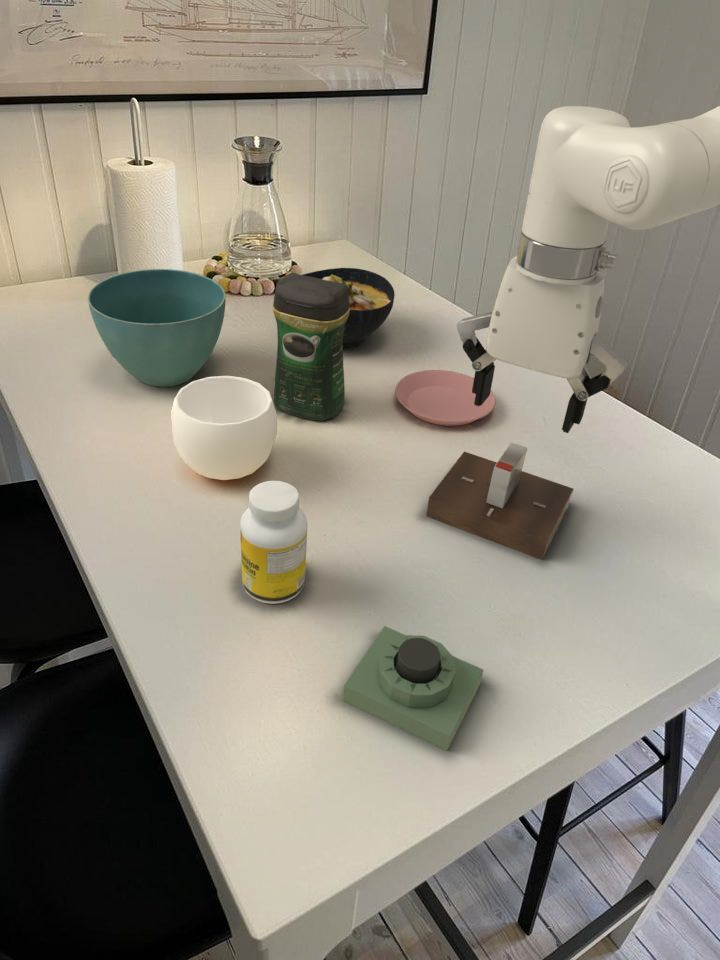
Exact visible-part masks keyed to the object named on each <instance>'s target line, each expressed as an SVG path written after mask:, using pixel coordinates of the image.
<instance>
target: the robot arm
mask: <svg viewBox="0 0 720 960" xmlns="http://www.w3.org/2000/svg"><path fill="white" fill-rule="evenodd" d="M537 138H538V139H537V144H536V150H535V154H534V160H533V165H532V171H531V176H530V182H529V188H528V192H527V193H528V194H527V198H526V204H525V210H524V215H523V221H522V226H521V230H520V231H521V232H520V235H519V236H520V237H519V242H518V247H517V253H516V255H515V256H514V257H512V258H511V259H510V261H509V262H508V264H507V267H506V269H505V272H504V274H503V278H502V280H501V283H500V286H499V289H498V292H497V296H496V299H495V302H494V306H493V309H492V311H489V312H486V313H481V314H476V315H473V316H468V317H465V318H462V319H461V320H460V321H459V322H458V323H457V324H456V329H457V332H458V335H459V338H460V341H461V342H462V349H463V351H464V353H465V354H466V355H467V357H468V358H469V360H470V362H471V367H472V369H473V370H474V377H473V378H474V382H473V388H472V393H474V394H476V396H475V401H474V405H476V406H480V405H482V404H483V403H484V402H485V400H486V399H487V398H488V397H489V395H490V392H491V391H492V386H493V381H494V380H493V379H494V374H495V369H496V365H495V361H496V360H497V361H500V362H502V363H506V364H510V365H513V366H516V367H519V368H523V369H527V370H530V371H534V372H538V373H542V374H545V375H549V376H552V377H556V378H561V379H566V380H567V383H568V384H569V386H570V388H571V389H572V391H573V393H572V394H571V396H570V398H569V400H568V403H567V408H566V411H565V415H564V419H563V422H562V427H561V431H562V432H563V433H566V434H569V433H570V431H571V429H572V428H573V426H574V424H576V425H580V424H581V422H582V421H583V417H584V413H585V410H586V406H587V402H588V399H589V398H590V397H592V396H594V395H596V394H599V393H600V392H602V391H604V390H606V389H607V388H608V387H609V386H610V385H611V384H613V383H614V382H615V381H616V380H617V379H618V378H619V377H620V376H621V375H622V374H623V373H624V372H625V370H626V368H627V367H628V361H626V359H624V358H623V357H622V356H621V355H620V354H619V353H617V352H616V351H615V350H614V349H612V348H611V347H610V346H609V345H608V344H607V343H605V342H604V341H603V340H602V339H601V338H600V337H598V332H599V327H600V322H601V316H602V310H603V303H604V297H605V296H604V295H605V278H606V277H605V274H604V273H603V272H602V271H601V270H605V269H609V270H612V271H613V270H614V269H615V266H616V264H617V261H618V254H616V253H612V252H610V251H609V250H607V247H606V243H607V241H606V238H607V233H608V229H609V225H610V223H611V224H613V225H615V226H617V227H620V228H623V229H627V230H634V231H643V230H650V229H654V228H657V227H660V226H664V225H666V224H669V223H672V222H674V221H677V220H679V219H682V218H685V217H688V216H691V215H695V214H698V213H700V212H704V211H706V210H707V211H708V210H709V209H712V208H715V207H717V206H720V105H718V106H717V107H715V108H713V109H711V110H709V111H706V112H705V113H702V114H699V115H698V116H695V117H692V118H687V119H686V118H685V119H681V120H674V121H669V122H663V123H659V124H654V125H645V126H638V127H637V126H635V127H631V125H630V121H629V120H628V119H627V118H626V116H625V115H622V114H621V113H619V112H617V111H614V110H611V109H605V108H600V107H595V106H584V105H565V106H560V107H557V108H556V107H555V108H553V109H552V110H550V111H549V112H548V113H547V114H546V115H545V116H544V118H543V120H542V122H541V125H540V129H539V133H538V137H537ZM483 329H484V330H485V329H487V330H488V331H487V335H486V341H485V347H484V345H483V344H482V343H481V342H480V340H479V338H478V337H477V336H476V331H480V330H483ZM592 357H594V358H595V359H596V360H597V361H599V363H601V364H602V365H603V366H604V367H605V370H604V371H603V372H601V373H599V374H597V375H595V376H592V375H591V373H590V371H589V369H588V367H587V366H586V365H588V364H590V362H591V360H592Z"/></svg>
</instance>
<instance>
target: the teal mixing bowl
mask: <svg viewBox="0 0 720 960" xmlns="http://www.w3.org/2000/svg"><path fill="white" fill-rule="evenodd" d="M226 295H227V294H226V291H225V288H224V287H223V286H222V285H221V284H219V282H217V281H216V280H214V279H212V278H209V277H208V276H205V275H203V274H200V273H196V272H194V271H193V272H192V271H187V270H181V269H172V268H150V269H149V268H148V269H137V270H131V271H126V272H123V273H118V274H115V275H112V276H110V277H107V278H105V279H103V280H101V281H99V282H98V283H96V284H95V285H94V286H93V287H92V288H91V289H90V291H89V292H88V295H87V302H88V308H89V312H90V315H91V318H92V320H93V323H94V326H95V329H96V330H97V333H98V335H99V337H100V339H101V341H102V342H103V344H104V345H105V347H106V349H107V350H108V351H109V353H110V354H111V356H112V357H113V359H115V361H116V362H117V364H119V365H120V366H121V367H122V368H123V369H124V370H126V371H127V372H128V373H129V374H130V375H131V376H133V377H134V378H135V379H136V380H137V381H138V382H141V383H143V384H144V385H147V386H152V387H159V388H167V387H175V386H178V385H182V384H184V383H186V382H188V381H190V380H191V379H192V378H193V377H194V376H196V374H197V373H198V372H199V371H200V370H201V369H202V368H203V366H204V365H205V363H207V361H208V359H209V358H210V356H211V355H212V353H213V351H214V349H215V347H216V345H217V343H218V340H219V337H220V334H221V331H222V328H223V324H224V318H225V312H226V302H227V301H226V299H227V297H226Z"/></svg>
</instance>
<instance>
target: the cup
mask: <svg viewBox="0 0 720 960" xmlns="http://www.w3.org/2000/svg"><path fill="white" fill-rule="evenodd" d="M170 420H171V421H170V422H171V431H172V438H173V439H172V440H173V444H174V446H175V448H176V450H177V452H178V454H179V458H180V459H181V460H182V461H183V462H184V463H185V465H187V466H188V467H189V468H190V469H191V470H192V471H194V472H195V473H196V474H198V475H200V476H202V477H205V478H207V479H212V480H213V479H214V480H220V481H230V480H236V479H242V478H244V477H247V476H249V475H252V474H254V473H255V472H256V471H257V470H259V468H261V467H262V466H263V465H264V464H265V463H266V462H267V461H268V459H269V457H270V454H271V453H272V449H273V446H274V443H275V441H276V438H277V435H278V413H277V411H276V406H275V405H274V402H273V398H272V395H271V392H270V390H268V389H267V388H265V387H264V386H263V385H262V384H261V383H259V382H257V381H254V380H251V379H249V378H246V377H241V376H232V375H219V376H216V375H214V376H207V377H204V378H200V379H197V380H193V381H191V382H189V383H188V384H186V385H184V386H183V387H181V388H180V389H179V390H178V392H177V394H176V395H175V397H174V398H173V402H172V406H171V411H170Z"/></svg>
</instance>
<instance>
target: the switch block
mask: <svg viewBox="0 0 720 960" xmlns="http://www.w3.org/2000/svg"><path fill="white" fill-rule="evenodd" d="M412 638H422V639H426V640H428V641H430V642H432V643H433V644H434V645H435V646H436V647H437V648H438V650H439V652H440V662H439V667H438V671H437V674H436V676H435V677H434V678H433V679H432V680H431V681H429V682H426V683H413V682H410V681H408V680H406V679H404V678H403V677H402V676H401V675H400V674H399V672H398V670H397V658H398V651H399V648H400V646H401V644H402V643H403V642H405V641H406V640H408V639H412ZM483 675H484V669H483V668H481V667H478V666H477V665H474V664H472V663H470V662H467V661H465V660H463V659H461V658H459V657H457V656H453V654H452V653H451V652H449V650H448V649H447V648H446V647H445V646H444V645H443V643H441V642H439V641H437V640H435V639H432V638H430V637H428V636H425V635H414V634H413V635H408V634H407V635H406V634H404V633H402V632H399V631H397V630H395V629H392V628H390V627H388V626H386V625H384V626H383V627H382V629H381V630H380V632H379V633H378V635H377V636H376V638H375V639H374V640H373V642H372V643H371V645H370V646H369V648H368V650H367V651H366V652H365V654H364V655H363V656H362V658H361V659H360V661H359V662H358V664H357V666H356V667H355V668H354V670H353V671H352V673H351V674H350V676H349V677H348V679H347V680H346V682H345V683H344V685H343V692H342V693H343V694H342V701H343V702H345V703H347V704H349V705H351V706H354V707H355V708H357V709H360V710H361V711H364V712H365V713H368V714H370V715H372V716H373V717H376V718H378V719H380V720H382V721H384V722H386V723H388V724H391V725H392V726H395V727H396V728H399V730H400V729H401V730H402V731H405V732H406V733H409V734H411V735H413V736H415V737H416V738H419V739H421V740H423V741H425V742H427V743H428V744H430V745H433V746H435V747H438V748H439V749H440V750H441V749H442V750H443V751H446V752H447V751H448V750H449V748H450V746H451V744H452V742H453V740H454V738H455V736H456V735H457V732H458V730H459V728H460V726H461V724H462V723H463V720H464V718H465V716H466V713H467V712H468V710H469V708H470V706H471V704H472V702H473V700H474V698H475V696H476V694H477V692H478V690H479V688H480V686H481V682H482V679H483Z"/></svg>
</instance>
